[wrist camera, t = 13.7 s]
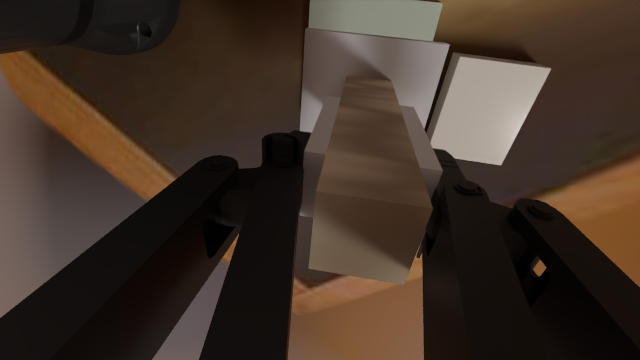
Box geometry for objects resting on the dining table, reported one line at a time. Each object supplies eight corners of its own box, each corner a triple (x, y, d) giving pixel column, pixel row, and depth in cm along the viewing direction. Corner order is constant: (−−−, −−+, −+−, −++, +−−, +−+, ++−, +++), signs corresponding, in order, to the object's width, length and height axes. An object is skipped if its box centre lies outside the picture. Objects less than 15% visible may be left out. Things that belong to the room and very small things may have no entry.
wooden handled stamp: (301, 138, 23) (224, 300, 11) (307, 27, 19) (190, 77, 6) (413, 153, 23) (473, 345, 10) (446, 42, 18) (624, 132, 6)
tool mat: (304, 113, 33) (303, 114, 33) (311, -11, 27) (310, -11, 26) (408, 126, 32) (408, 128, 32) (441, 3, 26) (443, 3, 25)
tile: (491, 153, 33) (422, 143, 34) (535, 62, 28) (452, 51, 28) (501, 165, 31) (426, 153, 31) (551, 68, 25) (460, 56, 26)
